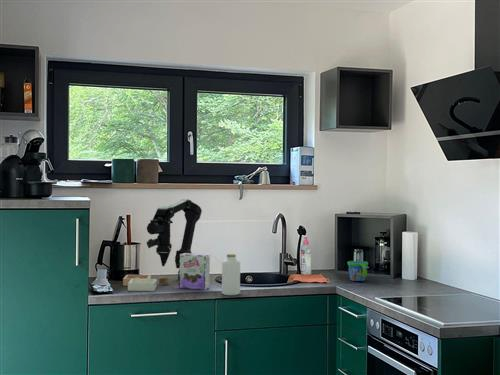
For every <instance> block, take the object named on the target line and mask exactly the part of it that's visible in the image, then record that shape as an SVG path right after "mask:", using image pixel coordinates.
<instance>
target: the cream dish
mask: <svg viewBox="0 0 500 375" xmlns="http://www.w3.org/2000/svg"><path fill="white" fill-rule="evenodd" d="M157 285H158V284H157V278H151V279H131V280H130V281H129V283H128V286H127V292H128V293H154V292H155V290H156V288H157Z"/></svg>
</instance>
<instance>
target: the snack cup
mask: <svg viewBox="0 0 500 375" xmlns="http://www.w3.org/2000/svg"><path fill="white" fill-rule="evenodd" d="M347 265H348V273H349V279H350V281H351V280H355V281H363V282H365V281H366V277H367V276H368V265H369V262H368V261H365V260H364V261H362V260H349V261H347ZM364 280H365V281H364Z"/></svg>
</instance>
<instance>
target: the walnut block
mask: <svg viewBox="0 0 500 375" xmlns="http://www.w3.org/2000/svg"><path fill="white" fill-rule="evenodd" d="M158 279H159V280H158V281H159V282H158V286H168V285H169V277H168V276H167V277H166V276H159V278H158Z"/></svg>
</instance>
